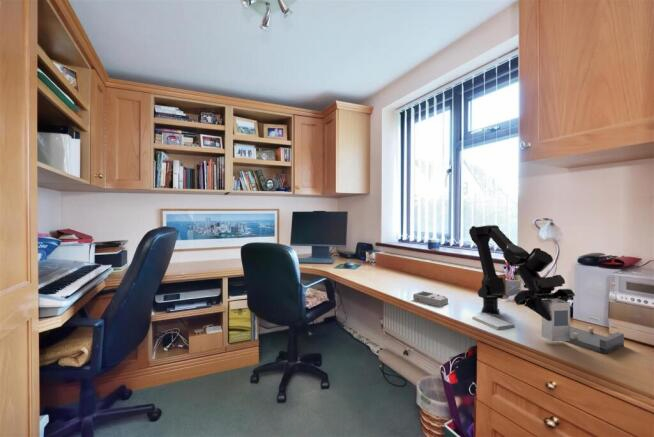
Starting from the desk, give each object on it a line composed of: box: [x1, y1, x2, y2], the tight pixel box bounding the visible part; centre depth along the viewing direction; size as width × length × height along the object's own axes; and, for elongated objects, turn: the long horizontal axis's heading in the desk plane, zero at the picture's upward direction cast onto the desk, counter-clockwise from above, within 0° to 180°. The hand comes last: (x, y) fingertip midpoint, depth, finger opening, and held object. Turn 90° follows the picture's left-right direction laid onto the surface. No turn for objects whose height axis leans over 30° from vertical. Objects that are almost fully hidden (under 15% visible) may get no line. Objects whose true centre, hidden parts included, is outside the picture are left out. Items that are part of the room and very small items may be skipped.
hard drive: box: [472, 314, 516, 331], centre depth 113 cm, size 2×8×12 cm
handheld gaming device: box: [412, 290, 449, 308], centre depth 142 cm, size 9×15×4 cm, turn 40°
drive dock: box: [566, 325, 625, 355], centre depth 96 cm, size 16×12×4 cm
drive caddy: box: [541, 299, 571, 342], centre depth 94 cm, size 4×6×12 cm, turn 95°
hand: (559, 320), depth 93 cm, fingers closed on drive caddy, 6 cm apart
